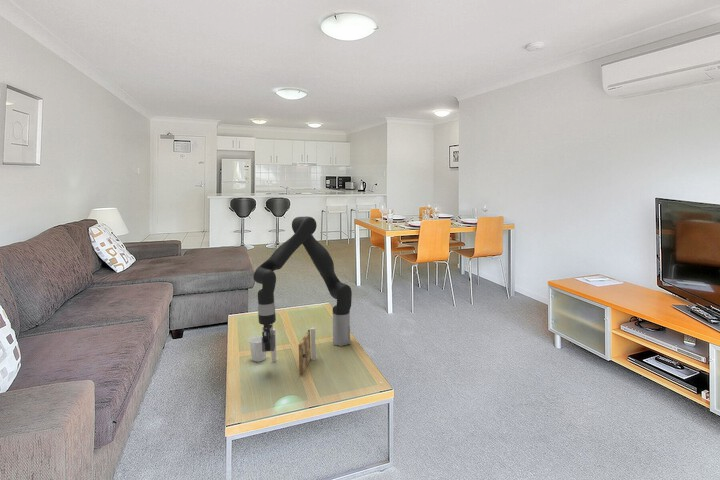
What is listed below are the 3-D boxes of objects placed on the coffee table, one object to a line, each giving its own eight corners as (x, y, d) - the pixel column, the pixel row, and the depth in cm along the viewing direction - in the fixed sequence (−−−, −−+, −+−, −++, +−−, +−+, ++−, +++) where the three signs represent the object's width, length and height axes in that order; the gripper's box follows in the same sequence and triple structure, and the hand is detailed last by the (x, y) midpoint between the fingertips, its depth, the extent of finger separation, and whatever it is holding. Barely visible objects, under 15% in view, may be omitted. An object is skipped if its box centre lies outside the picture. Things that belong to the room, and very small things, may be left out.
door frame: (315, 358, 182) (315, 327, 180) (315, 359, 180) (314, 328, 178) (272, 359, 181) (271, 328, 178) (271, 361, 179) (270, 330, 176)
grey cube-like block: (275, 346, 171) (274, 334, 170) (273, 351, 166) (272, 338, 165) (264, 346, 171) (263, 334, 170) (262, 351, 166) (261, 339, 165)
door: (308, 358, 182) (308, 329, 179) (313, 359, 181) (313, 329, 179) (299, 375, 166) (298, 343, 164) (304, 375, 166) (303, 343, 163)
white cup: (258, 363, 176) (257, 344, 175) (247, 359, 181) (246, 340, 179) (270, 357, 183) (269, 338, 182) (259, 353, 187) (258, 335, 186)
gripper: (272, 317, 159) (274, 354, 162) (277, 306, 173) (279, 340, 176) (255, 318, 158) (257, 355, 161) (261, 307, 172) (263, 341, 175)
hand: (268, 347), depth 168 cm, fingers closed on grey cube-like block, 5 cm apart
